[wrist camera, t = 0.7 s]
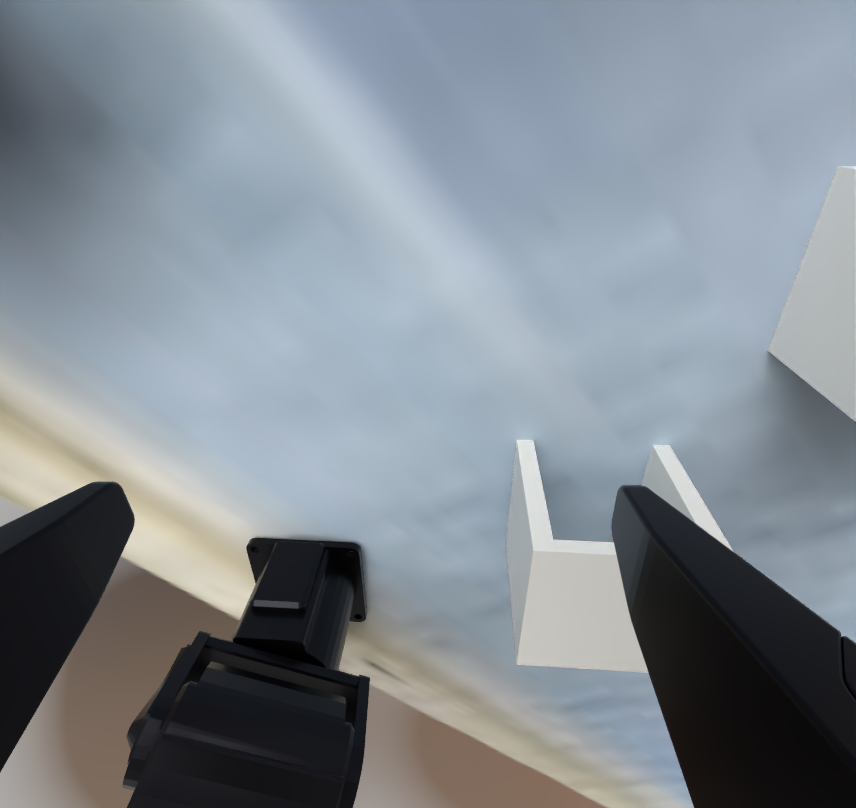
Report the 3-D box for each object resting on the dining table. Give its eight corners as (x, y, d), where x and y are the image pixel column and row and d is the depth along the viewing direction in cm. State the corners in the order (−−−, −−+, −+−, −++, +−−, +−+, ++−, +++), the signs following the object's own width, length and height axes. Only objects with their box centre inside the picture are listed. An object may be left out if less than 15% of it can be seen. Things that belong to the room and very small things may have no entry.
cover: (638, 549, 27) (686, 675, 21) (505, 543, 28) (516, 664, 22) (669, 445, 24) (739, 560, 18) (516, 440, 24) (533, 550, 18)
